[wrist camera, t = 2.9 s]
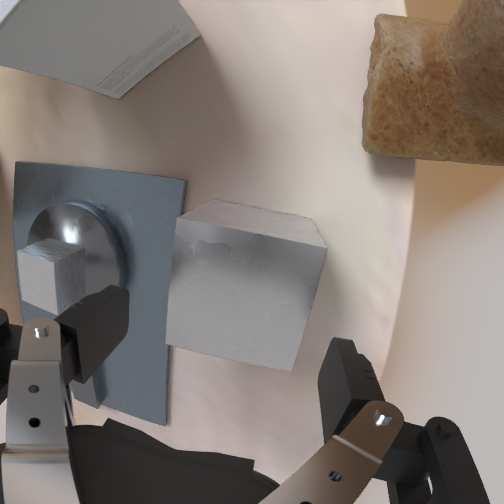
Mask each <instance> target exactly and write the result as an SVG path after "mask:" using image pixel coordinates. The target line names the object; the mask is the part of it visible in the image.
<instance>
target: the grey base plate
mask: <svg viewBox="0 0 504 504" xmlns="http://www.w3.org/2000/svg"><path fill="white" fill-rule="evenodd" d="M186 183H187V180H181V179H175V178H168V177H161V176H154V175H147V174H140V173H132V172H125V171H117V170H108V169H100V168H91V167H81V166H71V165H61V164H49V163H37V162H23V161H17V162H16V163H15V176H14V201H13V225H14V250H15V263H16V274H17V283H18V291H19V298H20V305H21V311H22V317H23V323H24V325H25V323H27V322H28V321H30V320H32V319H35V318H49V319H52V320H54V319H55V318H56V317H58V316H59V315H60V314H62V313H63V312H64V311H66V310H67V309H69V308H70V307H72V306H73V305H74V304H75V303H77V302H79V301H80V300H81V299H82V298H84V297H85V296H87V295H90V294H93V293H97V292H98V293H99V292H100V291H102V290H103V289H105V288H106V287H107V286H109V285H111V284H112V285H115V286H119V287H122V288H125V289H128V290H129V294H130V300H129V327H128V331H127V334H126V336H125V338H124V339H123V340H122V341H121V342H120V344H119V345H118V346H117V347H116V348H115V349H114V350H113V351H112V353H111V354H110V355H109V356H108V357H107V358H106V359H105V361H104V362H103V363H102V364H101V365H100V366H99V368H98V369H97V370H96V371H95V372H94V373H93V375H92V376H91V377H90V378H89V379H88V380H87V382H86V383H85V384H81V383H79V382H77V381H75V380H72V381H71V382H70V383H69V385H70V390H71V391H73V394H74V398H75V399H77V400H79V401H81V402H83V403H85V404H88V405H90V406H92V407H95V408H97V409H98V408H99V407H100V405H101V404H103V405H106V406H108V407H111V408H113V409H116V410H118V411H121V412H124V413H126V414H129V415H132V416H135V417H138V418H141V419H143V420H146V421H149V422H153V423H156V424H159V425H162V426H166V424H167V389H168V363H169V345H168V344H166V326H167V311H168V297H169V285H170V274H171V264H172V254H173V245H174V236H175V228H176V220H177V217H179V216H181V215H182V211H183V204H184V197H185V190H186Z"/></svg>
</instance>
